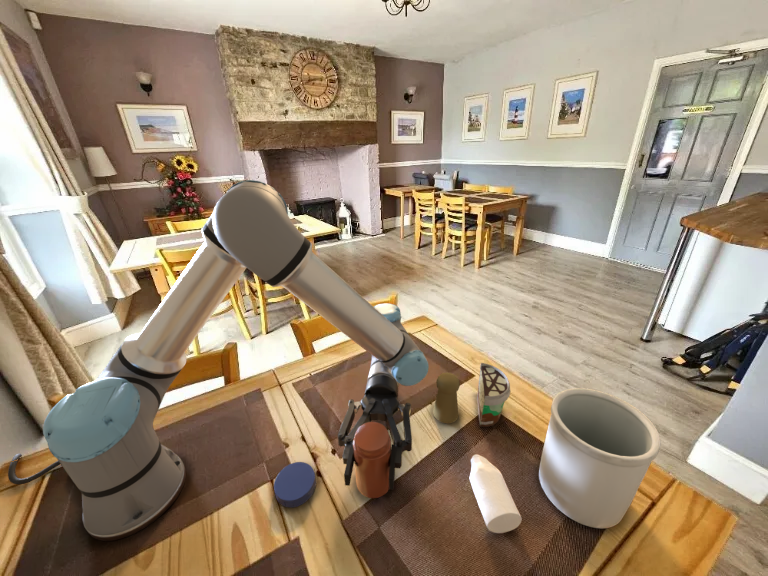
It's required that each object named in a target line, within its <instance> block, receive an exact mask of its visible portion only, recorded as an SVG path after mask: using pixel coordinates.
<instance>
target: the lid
mask: <svg viewBox="0 0 768 576" xmlns="http://www.w3.org/2000/svg"><path fill="white" fill-rule="evenodd" d="M316 486H317V479H316V473H315V470H314V468H313V467H312V466H311V465H310V464H309V463H307V462H304V461H295V462H292V463H289V464H288V465H286V466H284V467H283V468H282V469H281V470H280V471H279V472H278V474H277V476H276V477H275V480H274V484H273V490H274V496H275V498H276V500H277V502H278V504H280V505H281V506H283V507H285V508H297V507H299V506H301V505H303V504H305V503H306V502H307V501H308V500H310V499H311V497H312V496H313V494H314V492H315V489H316Z"/></svg>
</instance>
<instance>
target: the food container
mask: <svg viewBox="0 0 768 576" xmlns="http://www.w3.org/2000/svg"><path fill="white" fill-rule="evenodd" d="M510 396H511V384H510V380H509V378H508V377H507V375H506V374H505V372H503V370H501V369H500V368H498V367H496V366H494V365H492V364H489V363H485V362H484V363H483V362H480V366H479V377H478V385H477V394H476V401H477V410H478V421H479V427H481V428H482V427H483V428H486V427H492V426H494V425H496V424H497V423H498V422H499V420H500V418H501V415H502V412H503V409H504V405H505V402H506V401H507V400H508V399H509V398H510Z"/></svg>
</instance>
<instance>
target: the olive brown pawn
mask: <svg viewBox="0 0 768 576" xmlns="http://www.w3.org/2000/svg"><path fill="white" fill-rule="evenodd" d="M435 383H436V388H437V391H436V392H437V393H436V396H435V401H434V405H433V408H432V414H433V417H434V418H435V419H436V420H437V421H438V422H440V423H443V424H451V423H455V422H456V421H457V420H458V418H459V403H458V402H459V401H458V391H459V389H460V385H461V384H460V379H459V377H458V376H457V375H456V374H455V373H452V372H447V371H446V372H442V373H441V374H439V375H438V376H437V378H436V382H435Z"/></svg>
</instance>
